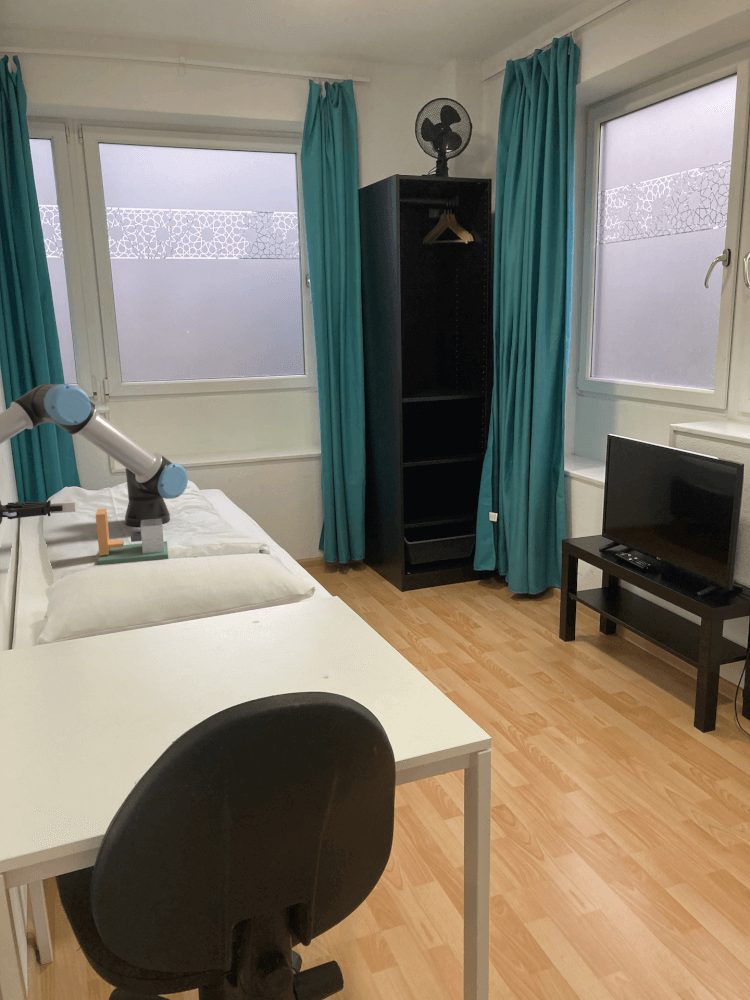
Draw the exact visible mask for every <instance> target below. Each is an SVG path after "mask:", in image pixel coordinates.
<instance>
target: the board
mask: <svg viewBox="0 0 750 1000" xmlns="http://www.w3.org/2000/svg"><path fill="white" fill-rule="evenodd" d="M165 559H167V560H168V559H169V551H168V541H164V552H160V553H148V554H143V551H142V542H141V543H132V544H130V543H129V544H123V547H116V548H110V551H109V555H101V556H100V555H99V556H98V559H97V560H98V565H99V566H100V565H108V564H109V565H110V564H120V563H122V564H123V563H130V562H131V563H132V562H143V561H152V560H153V561H155V560H165Z"/></svg>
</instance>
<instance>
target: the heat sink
mask: <svg viewBox="0 0 750 1000" xmlns="http://www.w3.org/2000/svg"><path fill="white" fill-rule="evenodd" d="M130 541H131V543H132V542H141V543H142V551H143V554H148V553H160V552H164V542H165V541H164V532H163V524H162V518H161V519H148V520H141V526H140V530H139V531H131V532H130Z"/></svg>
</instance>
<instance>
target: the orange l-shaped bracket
mask: <svg viewBox="0 0 750 1000" xmlns="http://www.w3.org/2000/svg"><path fill="white" fill-rule="evenodd" d="M95 523H96V534H97V541H98V542H97V544H98V552H99V553H98V554H99V556H101V555H109V551H110V548H116V547H123V545H124V544H125V543H124V539H114V540H110V530H109V522H108V510H107V508H97V510H96V512H95Z"/></svg>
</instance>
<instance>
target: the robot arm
mask: <svg viewBox="0 0 750 1000" xmlns="http://www.w3.org/2000/svg"><path fill="white" fill-rule="evenodd" d="M46 423H52V424H53V423H54V424H55V425H56V426H58V427H59V428H61V429H63V431H65V432H67V434H69V435H71V436H74V435H80V436H81V437H83V438H84V439H85V440H87V441H88V442H90V443H91V444H93V445H94V446H95V447H96V448H98V449H99V450H101V451H102V452H103V453H105V454H106V455H108V456H109V457H110V458H112V460H113V459H114V461H116V462H117V463H119V464H120V465H121V466H123V467H125V474H126V486H127V497H128V503H127V508H126V511H125V515H124V522H125V523H126V524H127V526H130V525H131V527H141V520H148V519H161V518H162V525H163V524H166V523H169V522H170V521H171V516H170V512H169V509H168V507H167V505H166V502H165V499H168V500H169V499H176V498H178V497H180V496H181V495H182V494H184V492H185V491H186V489H187V486H188V483H189V478H188V477H189V476H188V472H187V471H186V469H185V467H184V466H182V465H180V464H179V463H173V462H171V461H170V460H169V459H167V458H166V457H165V456H163V455H162V454H161V453H159V452H154V453H153V452H150V451H149V450H148V449H146V448H145V447H144V446H142V445H141V444H140V443H139V442H137V441H136V440H134V439H133V438H132V437H131V436H129V435H128V434H127V433H125V432H124V431H123V430H121V429H120V428H118V427H117V426H116V425H115V424H114V423H112V422H110V421H109V420H108V419H107V418H105V417H104V416H102V414H100V413H98V412H97V406H96V404H95V403H93V402H92V401H91V400H90V398H89V396H88V394H87V393H86V392H85V391H84V390H83V389H81V388H80V387H77V386H75V385H74V384H73V385H72V384H70V383H69V384H68V383H60V384H59V383H43V384H40V385H38V386H36V387H34V388H33V389H31V390H29V391H27V392H26V393H24V394H23V395H21V396H20V397H18V398H17V399H15V400H13V401H12V402H10V406H9V408H7V409H5V410H4V411H2V412H0V445H2V444H4V443H5V442H6V441H8V440H10V439H11V438H13V437H14V436H17V435H18V434H19V433H21V432H22V431H24V430H25V429H27V430H32V429H34V428H35V427H37V426H39V425H42V424H46ZM76 508H77V507H76V501H62V502H61V501H60V502H51V500H49V499H48V501H29V502H27V501H25V502H22V501H21V502H20V501H16V502H7V504H2V502H1V500H0V525H1V524H2V523H3V518H7V520H14V519H20V518H30V517H39V516H47V517H51V514H62V513H76V511H77V509H76ZM125 523H124V524H125ZM126 524H125V525H126Z"/></svg>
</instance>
